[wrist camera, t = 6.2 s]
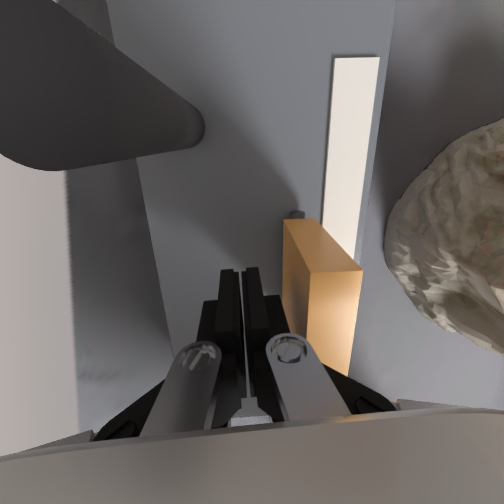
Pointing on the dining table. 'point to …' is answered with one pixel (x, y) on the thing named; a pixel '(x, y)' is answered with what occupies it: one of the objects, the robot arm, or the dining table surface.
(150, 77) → the dark gray rod
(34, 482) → the robot arm
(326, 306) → the wooden plank tile
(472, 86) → the dining table surface
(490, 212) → the beige rock sculpture
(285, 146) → the strip
